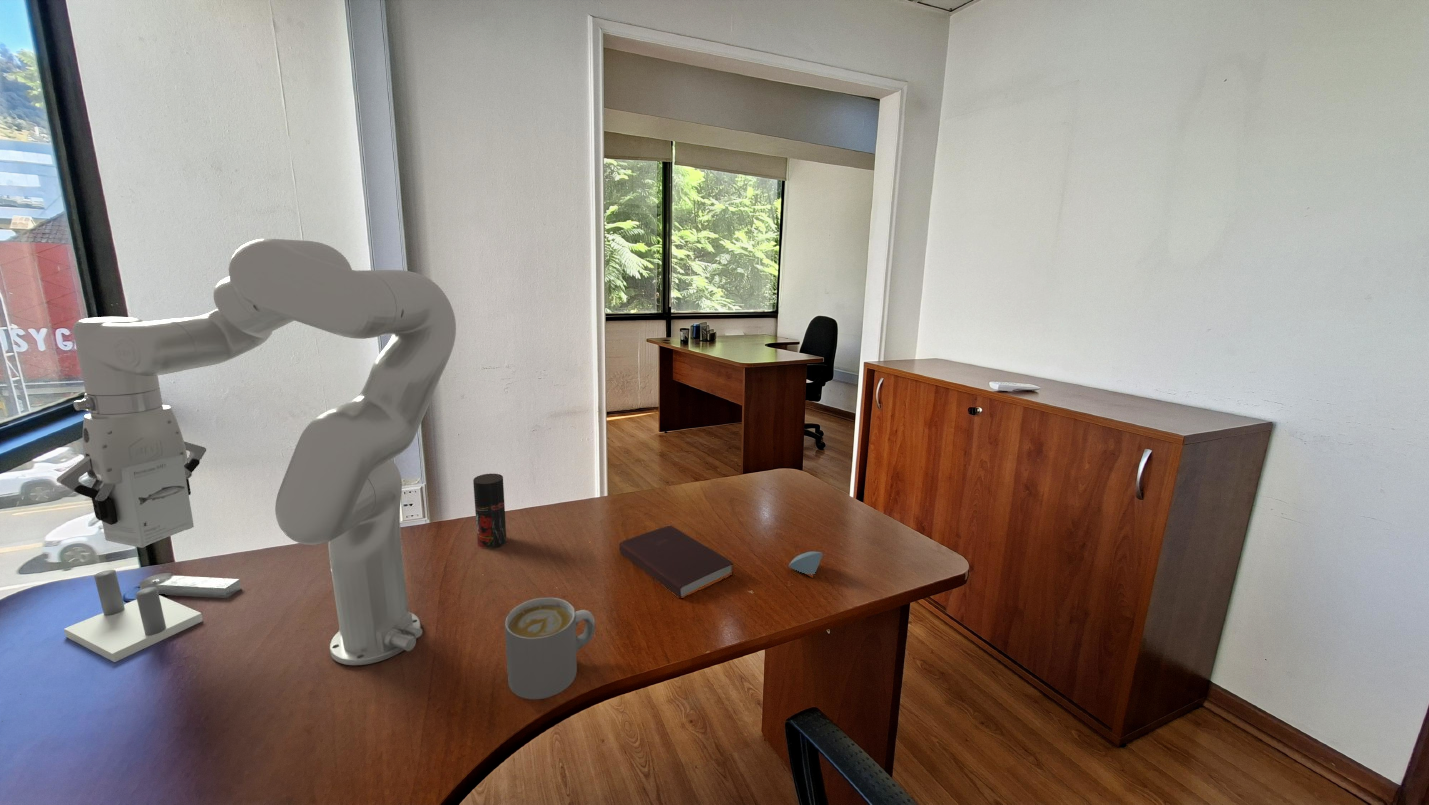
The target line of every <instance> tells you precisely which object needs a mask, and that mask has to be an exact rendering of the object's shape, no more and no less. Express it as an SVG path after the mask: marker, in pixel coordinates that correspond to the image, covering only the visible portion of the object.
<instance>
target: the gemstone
mask: <svg viewBox="0 0 1429 805" xmlns="http://www.w3.org/2000/svg"><path fill="white" fill-rule="evenodd" d="M823 554H824V553H823V552H821V551H814V550H813V551H807V552H805V553H804V552H803V553H802V554H799V555H797V556H795V557H794V558H793V559H792V560H791V561H790V563H789V564H788V567H789V568H790V569H792V570H794V571H796V570H797V571H796V572H798V571H799V572H798V573H800V572H802V573H805V574H811V575H812V574H815V575H816V573H815V572H817V569H818V568H819V565H820V563H821V560H822V557H823ZM802 573H801V574H802Z"/></svg>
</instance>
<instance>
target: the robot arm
mask: <svg viewBox="0 0 1429 805" xmlns="http://www.w3.org/2000/svg"><path fill="white" fill-rule="evenodd" d="M352 268H353V267H352V266H351V264H350V261H349V260H348V259H347V258H346V257H345V255H344V254H343V253H342V252H340V251H339V250H337V249H336V248H334V247H333V246H331V245H328V244H326V243H323V242H319V241H313V240H302V239H301V240H299V239H283V238H260V239H255V240H251V241H249V242H246V243H245V244H243V245H241V246H240V247H239V248H238V249H236V250H235V252H234V253H233V255H232V257H231V258H230V261H229V264H228V276H227V277H225V278H223V279H221V280H220V281H219V282H218V283H217V284H216V285H215V287H214V288H213V301H214V302H213V303H214V304H215V306H216V309H214V310H212V311H210V312H208V313H205V314H202V315H198V316H191V317H190V316H189V317H182V318H181V317H180V318H179V317H178V318H169V319H168V318H167V319H159V320H149V321H144V320H142V319H140V318H135V317H129V316H128V317H126V316H101V317H100V316H99V317H98V316H97V317H89V318H83V319H79V320H78V321H75V323H74V324H73V327H72V334H73V338H74V339H73V340H74V344H75V347H76V349H75V350H76V352H77V353H76V354H77V359H78V363H79V367H80V372H81V377H82V382H83V387H84V391H85V393H83V396H84V397H83V399H81V400H75V401H73V404H72V405H73V408H74V409H75V410H76V411H82V410H83V411H87V412H89V413H87V414H85V415H84V417H83V422H82V423H83V424H82V451H83V458H82V459H81V460H80V461H78V462H77V463H75V465H73V466H71V467H70V468H68V470H66V471H65V472H63V473H62V474H61V475H59V476H57V478H56V482H57V483H58V484H60V485H62V486H63V487H65V488H67V489H69V490H70V491H72V492H74V493H76V494H78V495H82V496H84V497H86V498H88V499H89V498H90V499H91V501H92V502H91V503H92V506H93V511H94V516H95V518H96V520H99V521H101V522H102V521H103V522H105V523H108V524H110V525H113V524H116V523H117V522H118V519H117V515H116V510H115V505H114V500H113V499H112V498H109V496H108V495H109V493H110V492H111V490H112V488H113V487H114V485H115V484H118V483H121V482H122V475H121V468H124V467H128V466H132V465H137V464H141V463H146V462H150V461H155V460H160V459H165V458H170V457H174V456H178V455H182V457H183V463H184V470H185V475H186V482H187V488H188V494H189V496H190V495H192V494H191V492H192V491H191V486H190V480H189V479H190V478H191V477H192V476H193V472H194V471H195V470H196V468H197V467H198V466H199V465H200V463H201V460H202V458H204V455H205V454H206V452H207V448H206V447H205V446H202V445H199V444H194V443H190V442H187V441H184V438H183V435H182V431H181V428H180V425H179V422H178V420H177V418H176V416H175V413H174V411H173V409H172V407H171V406H170V405H166V404H163V399H162V395H161V394H162V393H161V388H160V382H159V376H164V375H168V374H173V373H178V372H179V373H180V372H183V371H187V370H192V369H199V368H205V367H211V366H215V365H218V364H219V365H220V364H221V363H225V362H227V361H230V360H232V359H234V358H236V357H239V356H242V355H243V354H245V353H248V352H250V351H252V350H254V349H256V348H257V347H259V346H262V344H264V343H265V342H266V341H267V340H268V339H269V338H270V337H271V335H273V332H274V331H277V330H278V329H280V328H282V327H284V326H287V325H288V324H290V323H292V322H294V321H295V322H298V323H301V324H304V325H306V326H310V327H313V328H316V329H318V330H321V331H325V332H327V333H331V334H333V335H336V336H340V337H343V338H344V337H345V338H349V339H361V340H363V339H372V338H379V337H382V336H388V335H391V337H390V339H389V341H388V342H387V344H386V345H385V346H384V347H383V349H382V350H381V351H380V353H379V355H377V357H376V359H375V360H374V362H373V364H372V366H371V369H370V372H369V375H368V376H367V379H366V382H365V384H364V385H363V388H362V390H361V391H360V393H359V394H358V396H357V397H355V398H353V399H352V400H351V401H348V402H346V403H343V404H340V405H338V406H336V407H335V406H334V407H333V408H330V409H328V410H326V411H324V412H322V413H320V414H319V415H317V416H316V417H315V418H314V419H312V421H310V422H309V423H308V425H307V426H305V428H304V430H303V431H302V433H301V434H300V436H299V439H298V441H297V443H296V445H295V448H294V451H293V454H292V456H291V458H290V461H289V464H288V466H287V468H286V471H285V474H284V477H283V479H282V482H281V484H280V486H279V488H278V493H277V495H276V500H275V504H274V505H275V506H274V507H275V510H274V511H275V518H276V521H277V525H278V526H279V529H280V530H281V531H282V533H284V535H286V537H287V538H289V539H290V540H292V541H293V542H296V543H298V544H301V545H308V546H309V545H310V546H311V545H313V546H315V545H319V544H325V543H328V556H329V564H330V572H331V578H332V586H333V592H334V600H335V608H336V613H337V620H338V621H337V622H338V627H339V628H338V629H339V630H338V632H336V634H335V635H334V636H333V637H332V639H331V640H330V643H329V652H330V653H329V654H330V657H331V658H332V659H333V660H334V661H335V662H337V663H339V664H343V665H346V666H363V665H371V664H375V663H378V662H379V663H380V662H382V661H384V660H387V659H390V658H392V657H395V656H397V655H398V654H400V653H402V652H403V651H406V652H410V651H412V650H413V649H414V648H415V647H416V644H417V639H418V638H420V637H421V636H422V634H423V628H421V627H422V626H421V625H422V624H421V620H420V618H419V617H418V616H417V615H416V614H414V613H412V612H410V611H409V606H408V605H409V604H408V595H407V585H406V576H405V566H404V559H403V558H404V557H403V548H402V536H401V526H400V524H401V522H400V519H401V517H400V513H401V503H402V502H401V501H402V492H403V491H402V486H403V485H402V484H403V482H402V476H401V472H400V469H399V467H398V466H397V464H396V463H395V461H393V459H394V458H396V457H397V456H400V454H402V453H403V452H405V451H406V450H407V449H408V448H409V447H410V446H411V444H412V443H413V442H414V440H415V438H416V435H417V433H418V431H419V428H420V425H421V423H422V421H423V419H424V416H425V414H426V412H427V410H428V407H429V406H430V403H431V401H432V399H433V396H434V394H435V392H436V391H435V390H436V389H437V386H438V384H439V381H440V379H441V377H442V375H443V373H444V370H445V369H446V366H447V365H448V362H449V360H450V358H451V354H452V352H453V348H454V346H455V341H456V335H457V321H456V317H455V312H454V309H453V307H452V304H451V302H450V300H449V298H448V297H447V295H446V293H445V292H444V291H443V289H442V288H441V287H440V286H439V285H437V283H435V282H434V281H433V280H432V279H430V278H428V277H427V276H425V275H423V274H421V273H418V272H413V271H409V270H402V269H379V270H378V269H376V270H375V269H374V270H372V269H371V270H368V269H367V270H364V269H363V270H354V269H352ZM187 451H188V452H189V455H188V452H187ZM85 474H87V476H88V477H89V478H91V479H93V478H94V481H93V480H92V482H91V483H90V486H87V485H85V484H83V483H82V482H81V481H80V480H79V479H80V478H81V477H82V476H84V475H85Z"/></svg>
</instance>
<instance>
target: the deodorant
mask: <svg viewBox="0 0 1429 805" xmlns="http://www.w3.org/2000/svg"><path fill="white" fill-rule="evenodd" d="M472 482H473V496H474V498H473V499H474V509H475V510H474V511H475V522H476V524H475V526H476V540H477V542H476V543H477V547H479V548H481V549H483V550H484V549H485V550H492V549H498V548H500V547H502V546H504V545H505V544H506V543H507V527H506V526H507V525H506V523H507V522H506V511H505V510H506V508H505V507H506V506H505V504H506V503H505V491H504V490H505V489H504V476H503V475H502V474H499V473H485V474H480V475H477V476H475V477H474V478H473V479H472Z"/></svg>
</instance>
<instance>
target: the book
mask: <svg viewBox="0 0 1429 805" xmlns="http://www.w3.org/2000/svg"><path fill="white" fill-rule="evenodd" d="M618 549H619V552H620V553H619V554H621V555H622V556H623V557H625V558H626V559H627V560H629V561H630V562H631V563H633V564H634V565H636V566H637V568H639V567H640V568H639V569H640V570H642V571H643V570H644V571H645V574H647V575H648V574H649V575H648V576H650V577H651V576H652V577H653V578H654V580H655V579H656V580H657V581H659V582H660V583H661V584H663V585H664V586H665V587H666V588H667V589H669V590H670V591H671V592H673V593H674V594H675V595H676V596H678V597H679V598H681V596H684V595H686V594H688V593H690V592H692V591H694V590H696V589H698V588H699V587H702V586H704V585H706V584H708V583H710V582H712V581H714V580H717V579H719V578H720V577H723V576H725V575H727V574H729V573H730V572H733V570H732V566H734V564H735V563H734V562H732V561H731V560H729V559H728V558H726V557H725V556H724V555H722V554H720V553H718V552H717V551H715V550H713V549H711V548H709V547H708V546H706V545H704V544H703V543H701V542H700V541H698V540H696V539H695V538H693V537H691V536H689V535H687V534H686V533H685V532H683V531H681V530H680V529H679V528H676V527H674V526H673V525H666V526H663V527H661V528H657V529H654V530H652V531H648V532H644V533H642V534H640V535H636V536H633V537H631V538H628V539H625V540H623V541H620V542H619V544H618ZM644 571H643V572H644ZM652 577H651V578H652ZM653 578H652V579H653ZM656 580H655V581H656ZM657 581H656V582H657ZM660 583H659V584H660ZM661 584H660V585H661ZM664 586H663V587H664ZM665 587H664V588H665ZM666 588H665V589H666ZM667 589H666V590H667ZM669 590H668V591H669ZM670 591H669V592H670ZM671 592H670V593H671ZM674 594H673V595H674ZM675 595H674V596H675ZM676 596H675V597H676ZM679 598H678V599H679Z"/></svg>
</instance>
